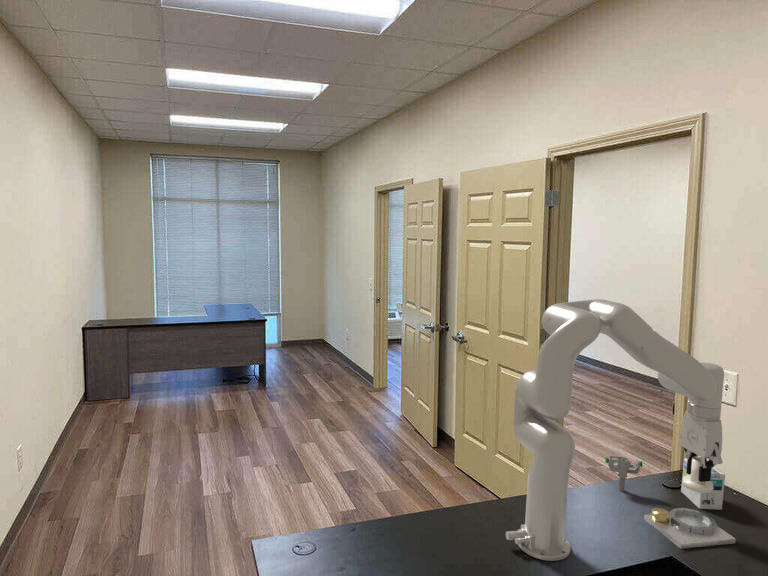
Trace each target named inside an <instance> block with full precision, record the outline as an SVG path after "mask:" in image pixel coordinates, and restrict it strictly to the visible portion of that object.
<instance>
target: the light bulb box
mask: <svg viewBox="0 0 768 576" xmlns="http://www.w3.org/2000/svg"><path fill="white" fill-rule="evenodd" d="M687 460H688V459H687V458H683V467H682V469H683V470H682V480H681V488H680V493H682V494H683V495H684V496H685V497H686V498H687V499H689V500H690V502H691V503H692V504H694V505H695V507H697V508H698V509H700V510H720V511H721V510H723V503H724V502H723V501H724V492H725V480H726V474H725V473H724V472H722V471H721V470H720V469H718V468H717V467H715V466H714V467H713V468H712V469H711V480H710V481H711V482H712V483H713V491H712V492H710V493H700V492H696V491H692V490H690V489H688V488H686V487H685V486H684V485H683V477H684V476H687V475H691V474H687V473H686V471H687Z"/></svg>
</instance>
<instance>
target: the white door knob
mask: <svg viewBox="0 0 768 576" xmlns="http://www.w3.org/2000/svg"><path fill="white" fill-rule="evenodd" d="M707 461H709V459H707ZM701 466H702V464H701V457H700V456H698V457H692V466H691V475H687V476H684V477H683V476H682V477H683V485H684V486H685V487H686V488H688V489H690V490H692V491H696V492H700V493H710V492H712V491H713V483H712V482H711V481H706V482H700V481H699V480H698V478H699V467H701Z"/></svg>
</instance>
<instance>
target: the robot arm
mask: <svg viewBox="0 0 768 576" xmlns="http://www.w3.org/2000/svg"><path fill="white" fill-rule="evenodd" d="M541 323H542V326H543V329H544V330H545V332H546V333H547V334H548V335H549V337H547V339H546V340H545V341H544V342H543V343H542V344H541V347H540V348H539V351H538V353H537V358H536V367H535V369H533V370H528V371H526V372H524V373H523V374H521V376H520V377H519V379H518V380H517V383H516V385H515V390H514V399H513V400H514V403H513V432H514V436H515V438H516V440H517V442H519V443H520V445H522V446H523V447H524V448H526V450H528V451H529V452H530V453H532V455H533V461H532V463H531V464H530V466H529V469H528V474H527V483H526V485H527V487H526V501H525V504H526V505H525V517H524V524H520V528H518V529H517V530H509V531H508V530H507V531H505V538H506V540H507V541H511V540H514V543H515V545H518V547H519V548H520V550H521V551H523V552H524V553H526V554H527V555H528V556H531V557H533V558H535V559H539V560H542V561H547V562H549V561H550V562H555V561H561V560H564V559H566V558H567V557H569V556H570V554H571V545H570V544H571V543H570V542H569V541H568V540H567V539H566V538H565V537H566V536H565V535H566V533H565V532H566V521H567V519H566V518H567V507H568V494H569V491H568V490H569V482H570V481H569V480H570V471H571V468H572V463H573V460H574V457H575V453H576V452H575V451H576V443H575V440H574V437H573V436H572V434H571V433H570V432H569V431H568V430H567V429H566V428H565V427H564V426H562V425H561V424H559V423H557V422H556V421H559V420H563V419H564V418H566V417H567V416H568V415H569V413H570V411H571V407H572V401H573V383H574V382H573V378H574V368H575V362H576V361H577V358H578V357H579V355H580V353H582V352H583V351H584V350H585V349H586V348H587V347H588V346H590V345H591V344H592V343H594V341H596V340H597V338H598V337H599V335H600V334H603V335H606V336H607V337H608V338H610V339H611V340H612V341H613V342H615V343H616V344H617V345H618V346H619V347H620V348H622V349H623V351H625V352H626V353H627V354H628V355H629V356H630V357H631V358H632V359H634V360H635V361H636V362H637V363H640V364H641V365H643V366H645V367H646V368H649V369H651V370H653V371H655V372H657V380H658V382H659V383H660V385H661V386H662V387H663V388H665V389H666V390H668V391H669V392H670V391H671V392H674V393H675V394H677V395H678V394H679V395H680V396H684V397H686V398H688V401H687V410H685V412H684V415H683V418H682V421H681V427H680V432H679V433H680V434H679V444H680V445H681V447H682V448H683V450H684V452H685V459H688V460H687V471H686V473H687V474H691V466H692V457H701V464H702V466H701V467H699V478H698V480H699V481H700V482H706V481H710V480H711V469H712V468H713V467H715V466H716V465H721V464H723V463H724V462H723V459H722V451H723V425H722V420H721V415H722V405H723V404H722V403H723V402H722V401H723V393H724V392H723V391H724V382H725V381H724V380H725V370H724V368H723V367H722V366H720V365H718V364H716V363H711V362H700V361H699V360H697V359H696V358H695V357H693V356H692V355H691V354H689V353H687V352H686V351H684V350H683V349H681V348H680V347H678V346H677V345H675V344H674V343H673V342H671V341H670V340H668V339H666V338H665V337H663V336H662V335H661V334H659V333H658V331H656V330H655V329H654V328H653V327H652V326H651V325H650V324H649V323H647V322H646V321H645V320H644V319H643V318H642V317H641V316H640V315H639V314H638V313H637V312H635V310H634V309H632V307H630V306H628V305H626V304H624V303H621V302H615V301H612V300H609V299H602V298H601V299H600V298H595V299H586V300H579V301H578V300H577V301H568V302H565V301H564V302H558V303H555V304H553V305H550V306H548V307H547V308H546V310H545V311H544V313H543V314H542V316H541ZM707 460H708V461H707Z"/></svg>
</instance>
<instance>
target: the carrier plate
mask: <svg viewBox="0 0 768 576" xmlns="http://www.w3.org/2000/svg"><path fill="white" fill-rule="evenodd" d="M643 520H644V521H645V522H647V523H648V524H649V525H650V526H652V527H653V528H654V529H655V530H656V531H658V532H659V533H660V534H661V535H663V536H664V537H665V538H667V539H668V540H669V541H670V542H672V543H673V544H674V545H675V546H676V547H678V548H679V549H690V548H700V547H711V546H712V547H713V546H721V545H730V544H731V545H732V544H736V540H737V539H736V538H735V537H734V536H733V535H731V534H730V533H728V532H727V531H725V530H724V529H722V528H721V527H719V526H718V523H717V521H716V520H715V519H714V518H713V517H711V516H710V515H708V514H707V513H705V512H701V511H699V510H698V509H697V510H696V509H691V508H687V507H676V508H673V509H671V510H670V511H668V510H667V509H665V508H660V507H653V508H652V509H651V513H650V514H644V516H643Z"/></svg>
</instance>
